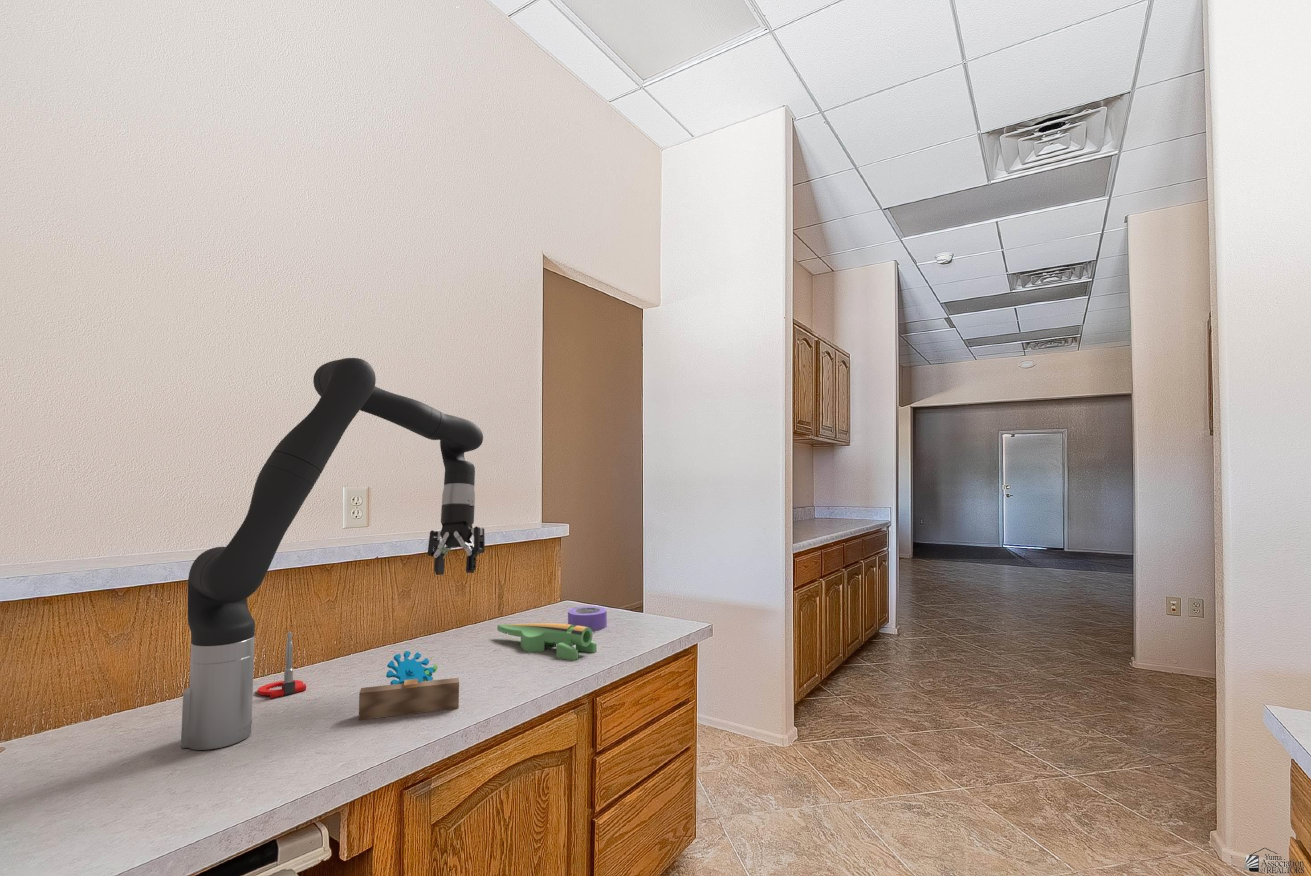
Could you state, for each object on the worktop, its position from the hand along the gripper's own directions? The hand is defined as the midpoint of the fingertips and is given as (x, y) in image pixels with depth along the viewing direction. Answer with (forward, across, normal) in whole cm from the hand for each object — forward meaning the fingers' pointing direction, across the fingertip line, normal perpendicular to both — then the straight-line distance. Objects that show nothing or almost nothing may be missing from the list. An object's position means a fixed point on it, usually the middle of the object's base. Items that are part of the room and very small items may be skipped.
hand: (454, 573), depth 143 cm
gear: (+25, -5, -6) cm, 26 cm away
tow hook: (+24, -31, -16) cm, 42 cm away
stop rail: (+27, +3, -16) cm, 31 cm away
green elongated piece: (+18, +4, +32) cm, 37 cm away
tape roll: (+14, +6, +56) cm, 58 cm away
